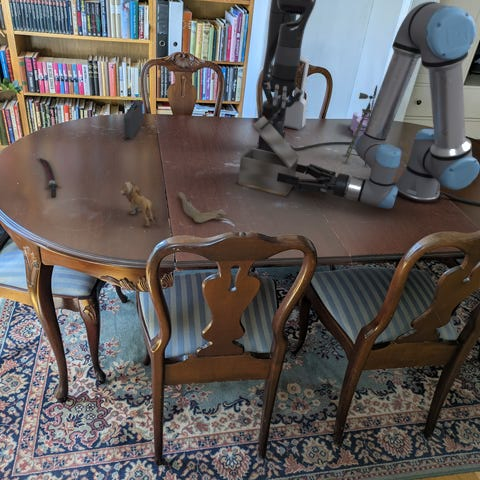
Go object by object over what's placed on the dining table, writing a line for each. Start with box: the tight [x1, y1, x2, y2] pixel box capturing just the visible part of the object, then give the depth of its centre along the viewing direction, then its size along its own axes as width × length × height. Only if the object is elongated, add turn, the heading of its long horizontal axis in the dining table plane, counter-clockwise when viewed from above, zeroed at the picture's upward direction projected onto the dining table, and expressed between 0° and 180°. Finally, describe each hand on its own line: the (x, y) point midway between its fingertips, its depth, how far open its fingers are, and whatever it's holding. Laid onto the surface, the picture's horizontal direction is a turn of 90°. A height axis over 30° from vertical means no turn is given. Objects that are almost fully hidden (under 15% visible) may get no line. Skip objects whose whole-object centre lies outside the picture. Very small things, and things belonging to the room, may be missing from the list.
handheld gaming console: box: [123, 99, 144, 141], centre depth 190 cm, size 23×3×10 cm, turn 178°
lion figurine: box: [119, 181, 159, 227], centre depth 134 cm, size 15×5×9 cm, turn 50°
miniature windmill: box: [345, 85, 378, 167], centre depth 179 cm, size 9×8×30 cm
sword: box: [40, 158, 59, 198], centre depth 151 cm, size 31×3×1 cm, turn 26°
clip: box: [349, 112, 369, 137], centre depth 214 cm, size 20×12×7 cm, turn 11°
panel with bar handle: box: [251, 109, 300, 168], centre depth 151 cm, size 18×10×8 cm
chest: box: [237, 147, 299, 197], centre depth 159 cm, size 17×10×10 cm, turn 68°
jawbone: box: [177, 191, 228, 224], centre depth 141 cm, size 9×20×2 cm, turn 50°
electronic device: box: [284, 56, 310, 131], centre depth 208 cm, size 12×8×30 cm, turn 71°
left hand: (277, 117), depth 149 cm, fingers closed
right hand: (282, 170), depth 157 cm, fingers closed on chest, 10 cm apart
